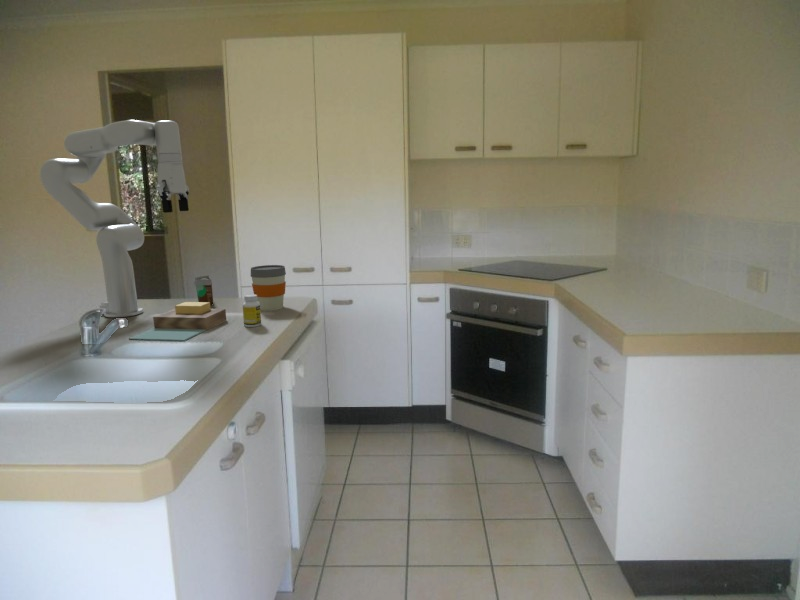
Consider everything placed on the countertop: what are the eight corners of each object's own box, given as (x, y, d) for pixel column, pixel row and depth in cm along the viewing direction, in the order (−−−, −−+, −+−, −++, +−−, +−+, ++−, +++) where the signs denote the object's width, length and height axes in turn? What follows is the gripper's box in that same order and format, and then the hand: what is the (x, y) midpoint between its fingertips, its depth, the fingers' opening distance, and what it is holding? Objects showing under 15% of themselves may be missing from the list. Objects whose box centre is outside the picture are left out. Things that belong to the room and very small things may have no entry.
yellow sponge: (175, 313, 183) (174, 305, 182) (185, 309, 189) (185, 301, 188) (201, 313, 181) (200, 306, 181) (210, 309, 187) (209, 302, 187)
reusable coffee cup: (295, 305, 210) (292, 265, 207) (272, 312, 199) (269, 270, 196) (268, 303, 215) (265, 264, 212) (245, 309, 204) (242, 269, 201)
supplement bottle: (259, 327, 178) (257, 296, 177) (242, 327, 178) (239, 297, 176) (262, 323, 184) (260, 293, 182) (246, 323, 184) (243, 294, 182)
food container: (194, 301, 223) (192, 276, 221) (210, 299, 225) (208, 275, 223) (196, 307, 211) (194, 280, 209) (213, 305, 214) (211, 279, 212)
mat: (129, 339, 167) (128, 338, 167) (153, 329, 179) (153, 328, 179) (184, 341, 164) (184, 339, 164) (205, 330, 176) (205, 329, 175)
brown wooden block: (154, 329, 179) (153, 316, 178) (177, 319, 192) (176, 308, 191) (206, 330, 176) (205, 317, 175) (226, 320, 188) (225, 308, 188)
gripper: (174, 161, 197) (180, 210, 200) (144, 159, 180) (150, 213, 183) (194, 160, 195) (199, 210, 199) (165, 158, 178) (171, 212, 182)
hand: (176, 211), depth 191 cm, fingers open, 9 cm apart
